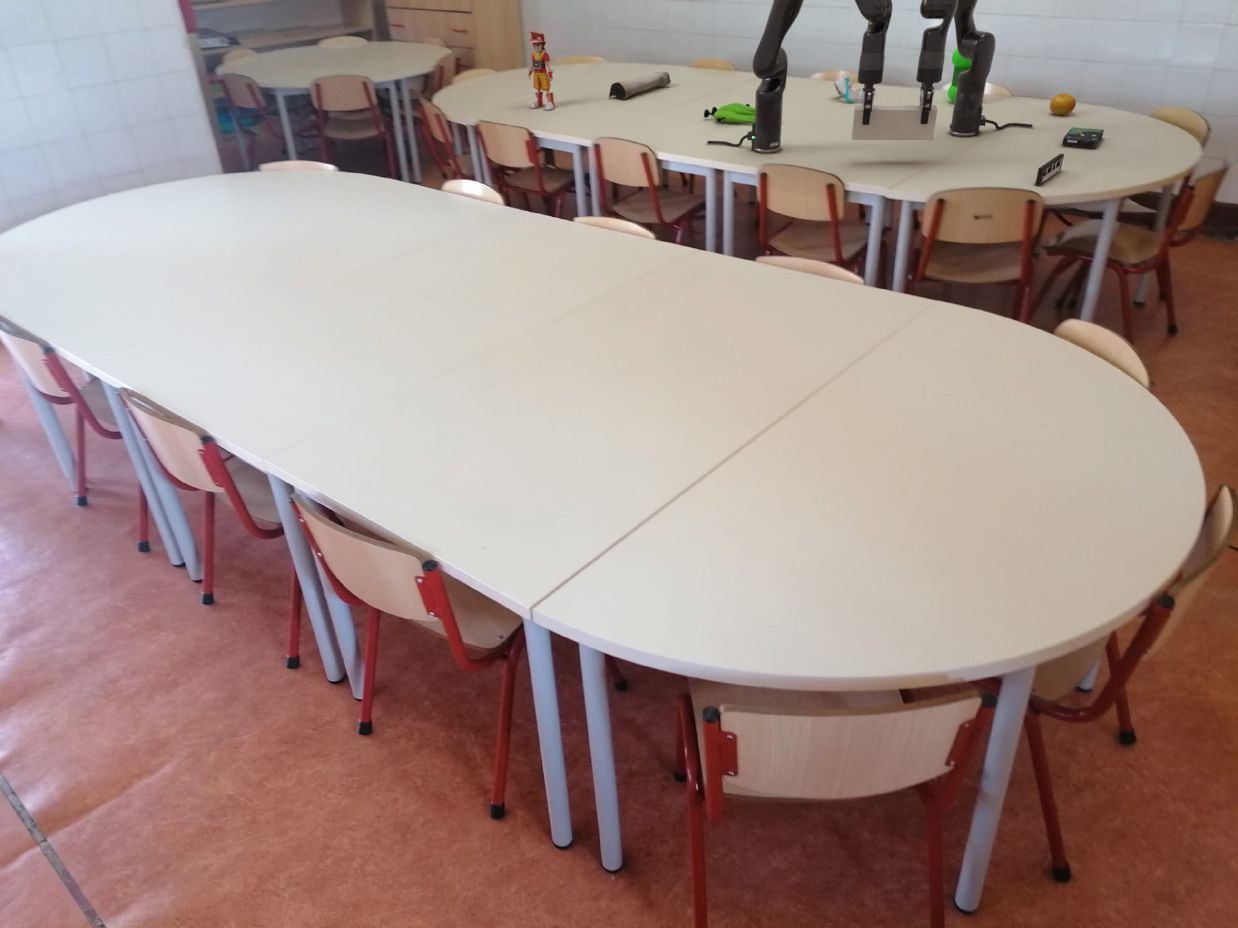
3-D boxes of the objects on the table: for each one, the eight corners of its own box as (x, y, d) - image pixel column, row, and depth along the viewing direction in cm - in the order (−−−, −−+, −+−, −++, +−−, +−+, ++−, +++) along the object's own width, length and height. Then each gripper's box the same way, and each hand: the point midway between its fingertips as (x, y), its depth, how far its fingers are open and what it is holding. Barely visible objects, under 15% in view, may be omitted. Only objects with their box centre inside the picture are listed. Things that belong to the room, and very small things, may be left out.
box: (931, 135, 291) (935, 105, 286) (932, 140, 286) (937, 110, 281) (851, 135, 296) (854, 105, 291) (851, 140, 291) (854, 110, 286)
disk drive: (1095, 149, 295) (1102, 137, 305) (1097, 141, 294) (1104, 129, 304) (1061, 146, 300) (1069, 134, 310) (1063, 138, 298) (1071, 126, 309)
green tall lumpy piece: (978, 101, 353) (990, 32, 339) (960, 106, 348) (971, 36, 334) (957, 97, 360) (967, 29, 346) (939, 102, 355) (949, 33, 341)
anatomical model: (829, 74, 368) (853, 67, 367) (832, 100, 374) (856, 93, 373) (840, 82, 356) (864, 75, 355) (842, 109, 362) (867, 102, 361)
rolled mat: (651, 76, 408) (662, 61, 399) (662, 93, 408) (674, 79, 400) (605, 92, 391) (616, 77, 383) (617, 110, 391) (628, 95, 383)
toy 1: (525, 109, 381) (517, 32, 364) (534, 104, 388) (527, 28, 371) (550, 110, 377) (543, 32, 360) (559, 105, 384) (553, 28, 367)
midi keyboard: (1039, 185, 269) (1043, 168, 266) (1035, 184, 270) (1038, 168, 267) (1060, 170, 279) (1064, 154, 277) (1056, 169, 280) (1060, 153, 277)
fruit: (1046, 106, 329) (1061, 86, 326) (1044, 110, 336) (1059, 90, 333) (1065, 119, 327) (1081, 99, 324) (1063, 122, 335) (1078, 102, 332)
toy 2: (694, 121, 346) (765, 134, 333) (695, 107, 343) (767, 120, 330) (725, 110, 366) (794, 122, 353) (727, 97, 363) (796, 108, 351)
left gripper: (858, 61, 287) (853, 116, 296) (859, 71, 275) (853, 128, 285) (882, 61, 285) (876, 116, 295) (884, 71, 274) (878, 128, 283)
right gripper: (945, 70, 270) (937, 127, 280) (941, 60, 282) (933, 115, 291) (919, 70, 272) (912, 127, 281) (916, 60, 283) (909, 115, 293)
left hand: (865, 121), depth 290 cm, fingers closed on box, 6 cm apart
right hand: (923, 121), depth 286 cm, fingers closed on box, 6 cm apart
